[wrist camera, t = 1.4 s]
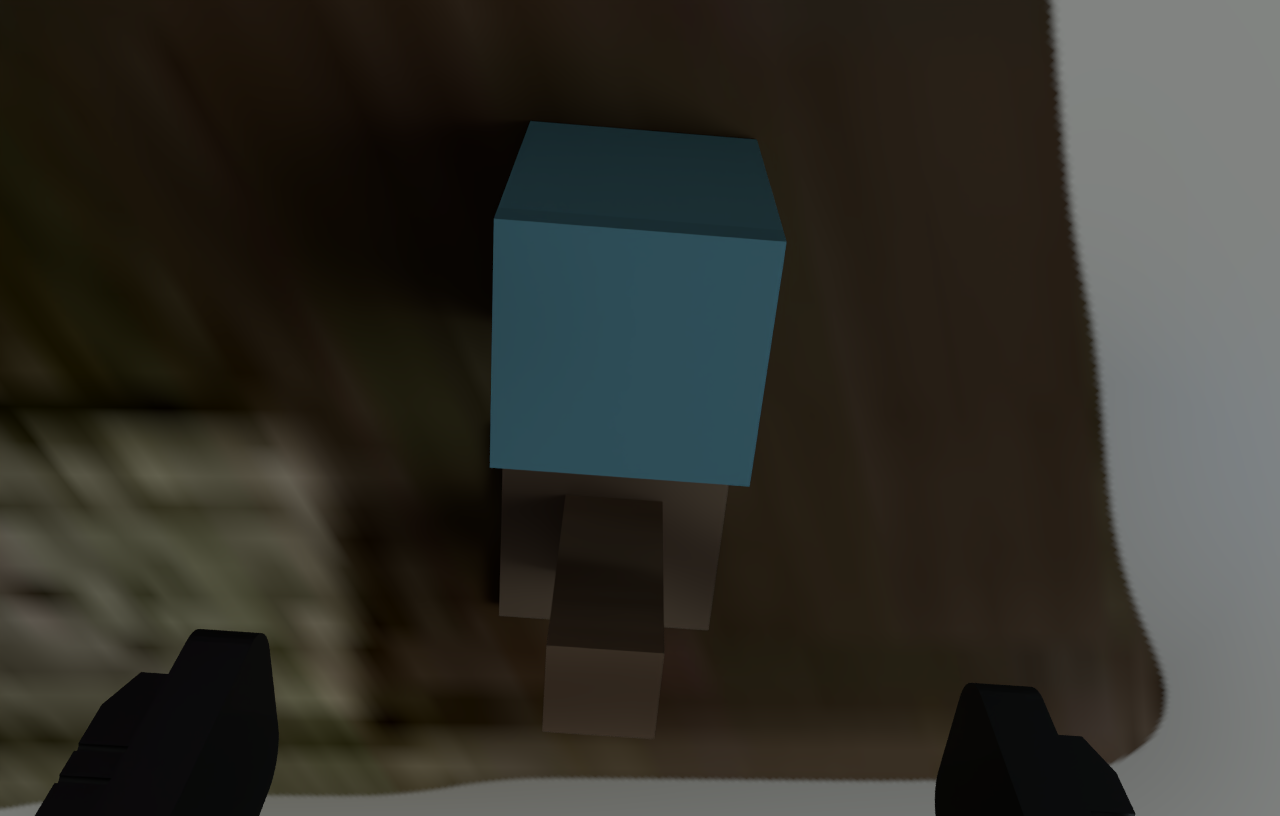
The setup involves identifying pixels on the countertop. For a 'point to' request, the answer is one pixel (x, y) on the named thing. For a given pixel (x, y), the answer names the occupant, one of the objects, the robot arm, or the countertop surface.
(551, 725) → the dark stepped block
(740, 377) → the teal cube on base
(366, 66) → the countertop surface
